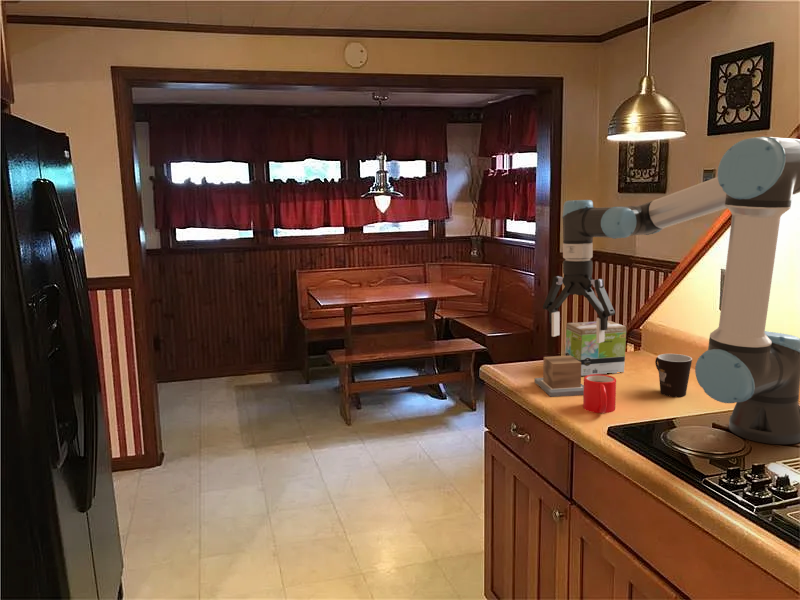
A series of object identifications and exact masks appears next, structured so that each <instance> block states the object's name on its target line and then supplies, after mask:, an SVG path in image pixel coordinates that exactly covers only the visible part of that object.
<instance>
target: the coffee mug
mask: <svg viewBox="0 0 800 600" xmlns="http://www.w3.org/2000/svg"><path fill="white" fill-rule="evenodd" d="M692 361H693V357H691V356H689V355H685V354H680V353H679V354H678V353H663V354H658V355H657V357H655V361H654V362H655V363H654V364H655V367H656V369H657V371H658V377H659V378H658V379H659V390H660V394H661V395H663V396H665V397H668V398H669V397H670V398H683V397H686V395H687V390H688V384H689V379H690V373H691V367H692Z"/></svg>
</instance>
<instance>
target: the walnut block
mask: <svg viewBox="0 0 800 600" xmlns="http://www.w3.org/2000/svg"><path fill="white" fill-rule="evenodd" d="M542 361H543V364H542V366H543V370H542V371H543V372H542V373H543V374H542V375H543V376H542V378H543V381H544V382H545V383H547V384H548V385H549V386H550V387H551V388H552V389H559V388H575V387H581V384H582V376H581V362H580V361H578V360H577V359H575V358H574V357H572V356H565V355H555V356H553V355H552V356H543V360H542Z"/></svg>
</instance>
